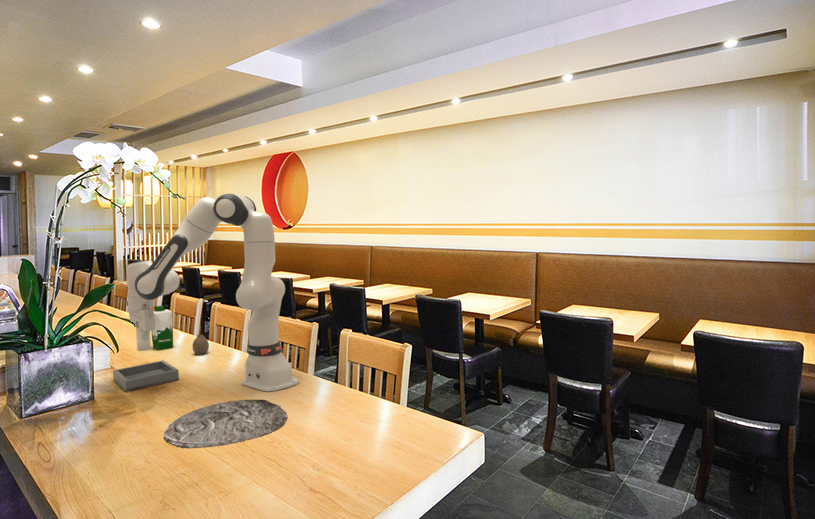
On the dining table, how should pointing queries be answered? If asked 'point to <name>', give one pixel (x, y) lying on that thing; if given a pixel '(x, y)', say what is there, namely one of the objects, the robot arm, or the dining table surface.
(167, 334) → the milk carton
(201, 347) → the vase
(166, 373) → the tray
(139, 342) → the shaker
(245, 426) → the worn metal disc
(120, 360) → the dining table surface
